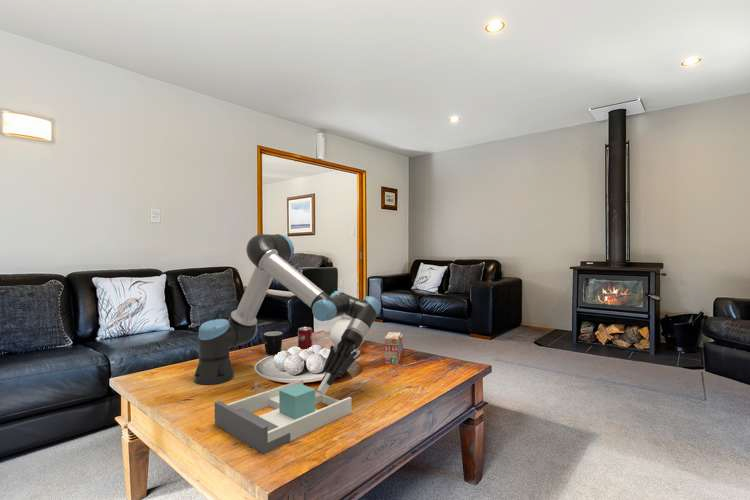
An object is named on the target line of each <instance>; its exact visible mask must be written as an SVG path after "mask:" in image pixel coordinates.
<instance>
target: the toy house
mask: <svg viewBox="0 0 750 500" xmlns="http://www.w3.org/2000/svg"><path fill="white" fill-rule="evenodd" d="M403 335H404V334H402V333H401V331H400V332H398V331H396V332H394V331H388V333H387V334H386V336H385V337H384V364H385V365H397V364H398V365H399V362H400V360H401V358H402V355H403V352H404V351H403V350H404V349H403V348H404V338H403V337H404V336H403Z"/></svg>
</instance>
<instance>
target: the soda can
mask: <svg viewBox="0 0 750 500" xmlns="http://www.w3.org/2000/svg"><path fill="white" fill-rule="evenodd" d="M311 346H312V347H313V328H312V327H310V326H302V327H299V328H298V330H297V348H298V347H300V348H301V349H307V348H309V347H311Z"/></svg>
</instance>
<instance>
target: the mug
mask: <svg viewBox="0 0 750 500" xmlns="http://www.w3.org/2000/svg"><path fill="white" fill-rule="evenodd" d="M263 340H264V341H263V342H264V350H265V353H266V355H267V356H276V355H275V354H277V353H278V352H280V353H281V351H282V345H283V344H282V343H283V332H281V331H267V332H264V334H263ZM277 355H278V354H277Z"/></svg>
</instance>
